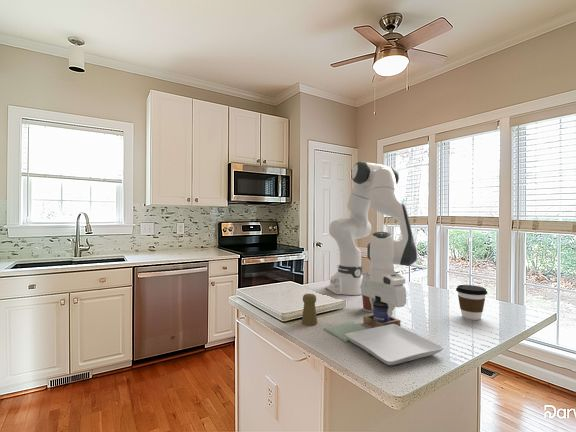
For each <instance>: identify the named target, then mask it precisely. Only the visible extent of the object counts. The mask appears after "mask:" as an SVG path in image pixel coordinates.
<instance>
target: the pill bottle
mask: <svg viewBox="0 0 576 432" xmlns="http://www.w3.org/2000/svg"><path fill="white" fill-rule="evenodd" d="M375 299H376V301H374V303H373V312H372V315H373V320H376V321H378V322H380V323H384V322H388V321H390V316H387V315H386V310H388V309H389V307H388V304H387V303H384V302H381V297H379V296H376V295H375Z"/></svg>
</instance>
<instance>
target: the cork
mask: <svg viewBox="0 0 576 432" xmlns="http://www.w3.org/2000/svg"><path fill="white" fill-rule="evenodd" d="M302 302H303V311H302V316H301V318H302V319H301V324H302V325H304V326H307V327H313V326H316V325H318V317H317V316H318V315H317V309H316V303H317V295H315V294H314V293H305V294H304V295H303V296H302Z"/></svg>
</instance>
